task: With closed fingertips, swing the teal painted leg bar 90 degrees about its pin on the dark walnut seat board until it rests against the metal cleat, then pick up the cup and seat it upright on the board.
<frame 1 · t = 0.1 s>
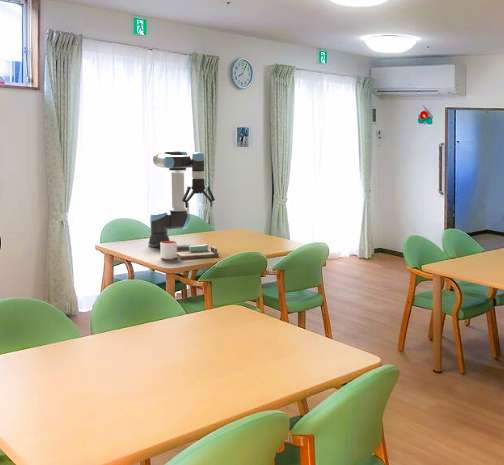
hand: (198, 212, 383), 28 cm above the table, fingers open, 13 cm apart
cup: (168, 258, 384), on the table
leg: (199, 247, 396), point 4 cm above the table, hinge at 0.0°
seat board: (196, 256, 391), on the table
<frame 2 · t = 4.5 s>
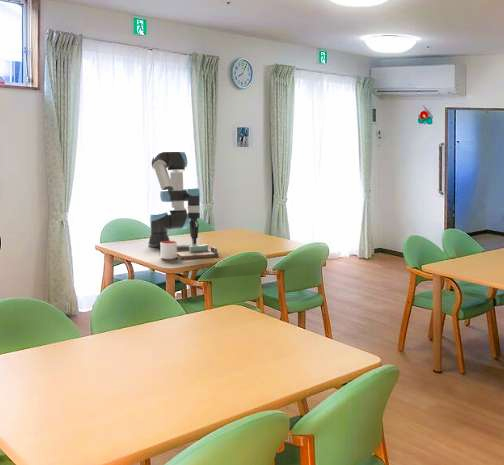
hand: (194, 248, 397), 4 cm above the table, fingers closed
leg: (199, 247, 396), point 4 cm above the table, hinge at 0.9°, touching gripper
everything else where it was.
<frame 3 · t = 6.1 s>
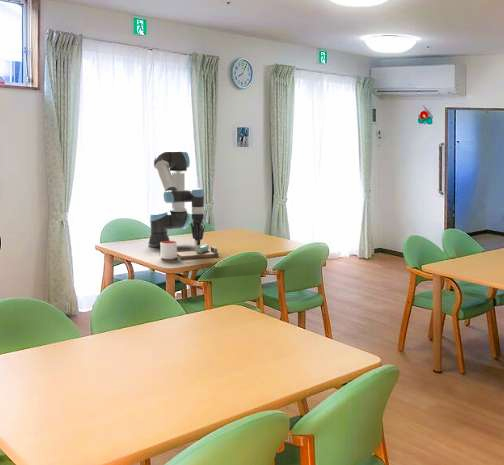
hand: (197, 250, 392), 3 cm above the table, fingers closed
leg: (202, 248, 393), point 4 cm above the table, hinge at 45.4°, touching gripper
everything else where it was.
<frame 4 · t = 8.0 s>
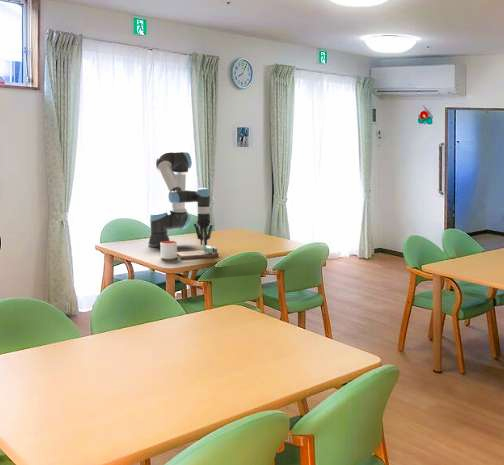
hand: (203, 250, 390), 4 cm above the table, fingers closed
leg: (208, 248, 393), point 4 cm above the table, hinge at 84.9°
everything else where it was.
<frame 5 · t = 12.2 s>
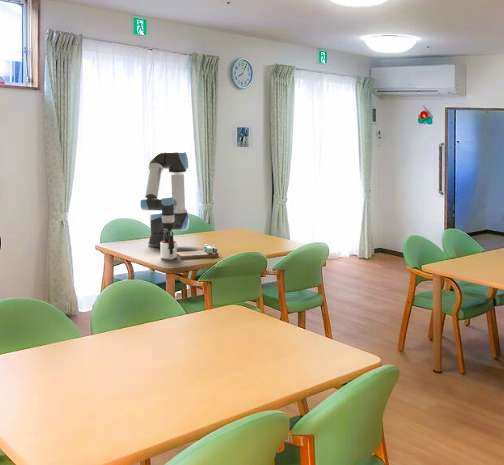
hand: (168, 257, 384), 0 cm above the table, fingers closed on cup, 10 cm apart
cup: (168, 258, 384), on the table, touching gripper
everything else where it was.
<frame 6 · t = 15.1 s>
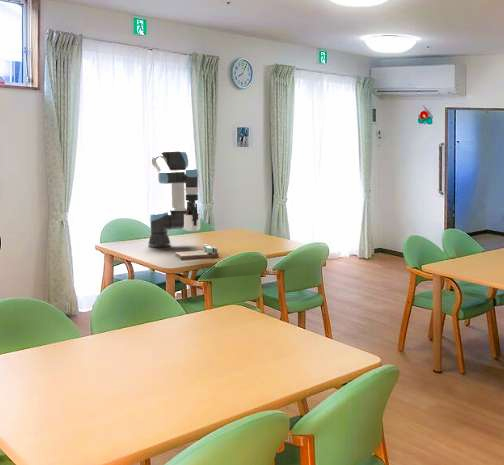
hand: (192, 229, 386), 17 cm above the table, fingers closed on cup, 10 cm apart
cup: (192, 230, 386), point 17 cm above the table, touching gripper
everything else where it was.
when the fingers open (4 cm above the table, at t = 18.0 s): cup stays where it is, resting on seat board.
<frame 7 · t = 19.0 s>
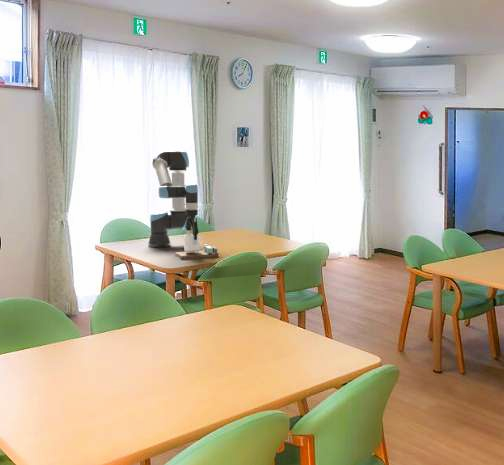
hand: (191, 242, 390), 8 cm above the table, fingers open, 13 cm apart
cup: (192, 252, 389), point 3 cm above the table, touching seat board
everything else where it was.
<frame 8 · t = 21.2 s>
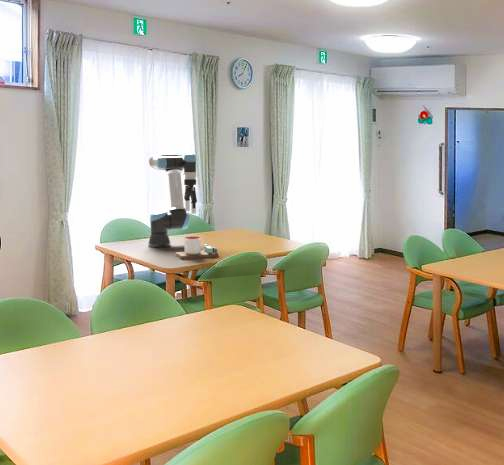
hand: (190, 212, 395), 27 cm above the table, fingers open, 13 cm apart
at the end: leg at +85° (first picture: +0°); cup inside the target area on the seat board (2.5 cm from its centre), point 1.8 cm above the seat board's base; cup tilted 0° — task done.
